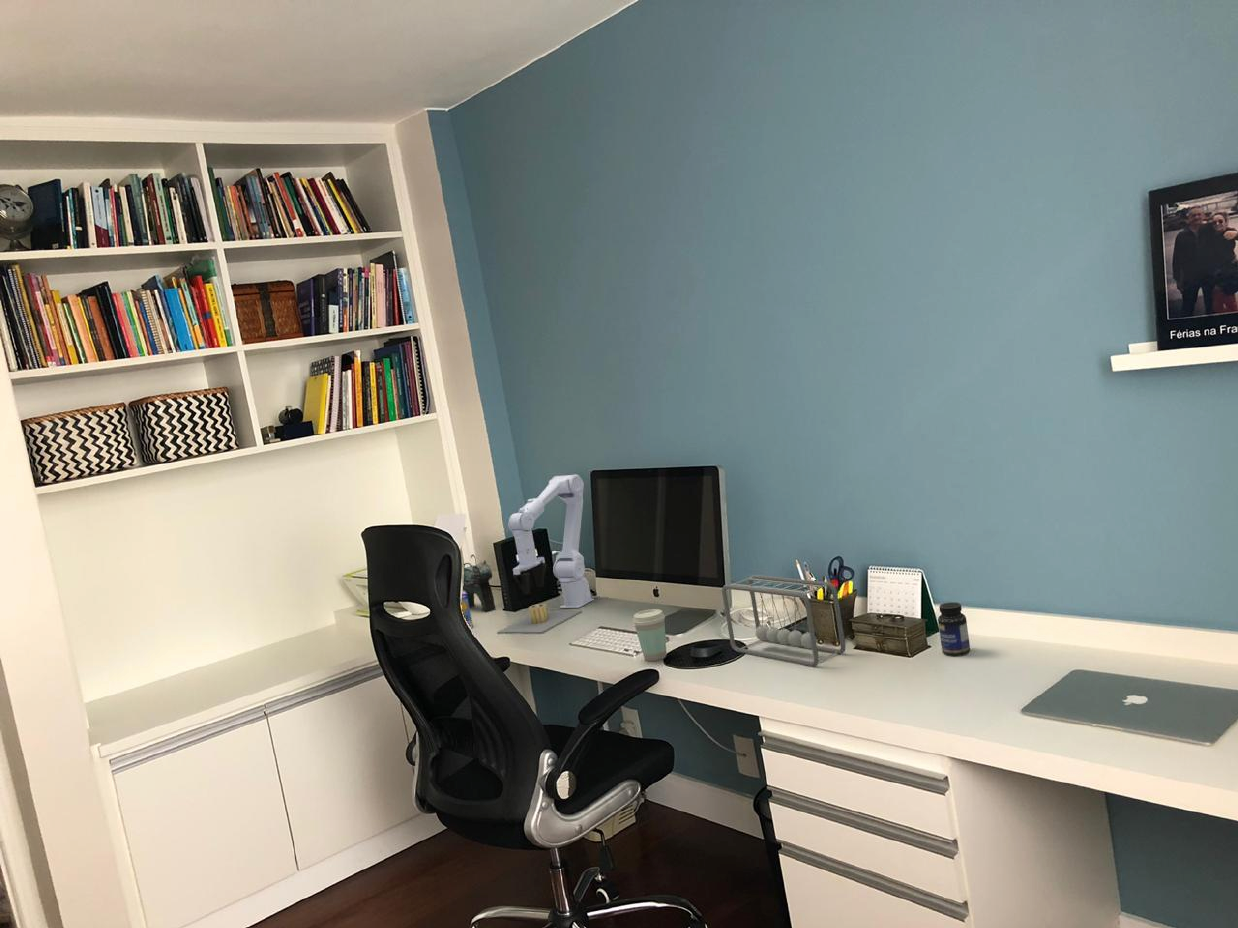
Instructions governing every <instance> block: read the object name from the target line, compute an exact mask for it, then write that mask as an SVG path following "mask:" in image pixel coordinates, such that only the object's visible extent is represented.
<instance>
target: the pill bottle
mask: <svg viewBox="0 0 1238 928" xmlns="http://www.w3.org/2000/svg"><path fill="white" fill-rule="evenodd" d="M962 610H963V608H962V604H961V603H960V602H954V601H953V602H945V603H942V604H940V605H939V612H940V613H941V614H940V615H938V618H937V622H938V623H937V624H938V631H939V638H940V644H941V652H942V654H943V655H944V656H949V657H960V656H964V655H967V654H969V653H970V652H971V645H970V636H969V628H968V623H967V622H968V621H967V616H966V614H964V613H962Z"/></svg>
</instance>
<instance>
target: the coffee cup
mask: <svg viewBox="0 0 1238 928" xmlns="http://www.w3.org/2000/svg"><path fill="white" fill-rule="evenodd" d="M665 619H666V617H665V614H664V613H663V610H662V609H658V608H656V609H655V608H653V609H652V608H651V609H646V610H640V611H639V612H637V613H634V615H633V619H632V624H633V625H634V627H635V631H636V635H637V637H638V640H639V645H640V647H641V652H642V654H643V658H644V660H645V661H647V662H656V661H661V660H662V659H665V658H666V657H667V644H666V643H667V642H666V640H667V639H666V638H667V637H666V626H665V625H666V624H665Z"/></svg>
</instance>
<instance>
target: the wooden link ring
mask: <svg viewBox="0 0 1238 928" xmlns="http://www.w3.org/2000/svg"><path fill="white" fill-rule="evenodd" d="M535 605H540V607H537V608H534V607H535ZM547 607H548V606H547V604H546V603H537V604H532V605H531V606H529V607H528V613H529V616H530V619H531V623H532V624H539V623H544V622H546V621H548V620H549V617H548V612H547V611H548V608H547Z"/></svg>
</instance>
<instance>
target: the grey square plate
mask: <svg viewBox="0 0 1238 928" xmlns="http://www.w3.org/2000/svg"><path fill="white" fill-rule="evenodd" d="M534 605H535V607H534V608H537V607H540V605H536V604H534ZM547 612H548V617H549V620H548V621H546V622H544V623H539V624H532V623H531V619H530V615H528V616H525V617H523V619H520V620H518V621H517V622H516V621H515V622H514V623H512V624H511V625H509V626H507V627H504V628H503V629H501V630H498V631H496V632H497V634H498V635H499V634H500V635H501V633H525V634H530V635H531V634H541V635H542V634H545V633H546V632H548V631H550V630H552V629H553V628H555V627H557V626H559V625H561V624H562V622H563V623H564V621H565V622H566V621H568V620H570V619H572V618H574V617H576V616H577V615H579V614H581V613H582V612H583V611H582V610H547ZM525 634H524V635H525Z"/></svg>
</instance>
